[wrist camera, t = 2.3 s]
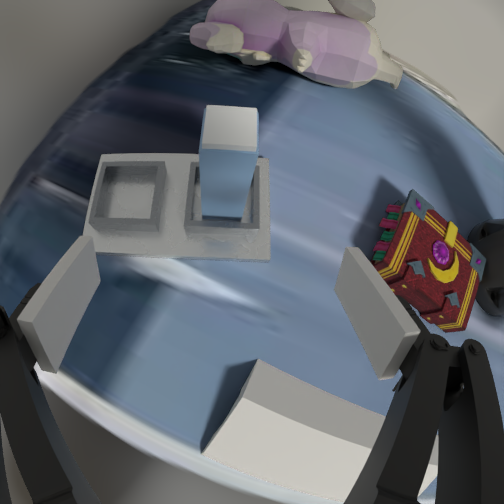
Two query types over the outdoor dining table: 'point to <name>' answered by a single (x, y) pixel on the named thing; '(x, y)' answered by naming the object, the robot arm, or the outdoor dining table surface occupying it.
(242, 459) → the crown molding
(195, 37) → the toy
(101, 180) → the panel
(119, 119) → the outdoor dining table surface
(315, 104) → the outdoor dining table surface
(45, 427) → the robot arm
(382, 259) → the decorative book
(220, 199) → the plug
